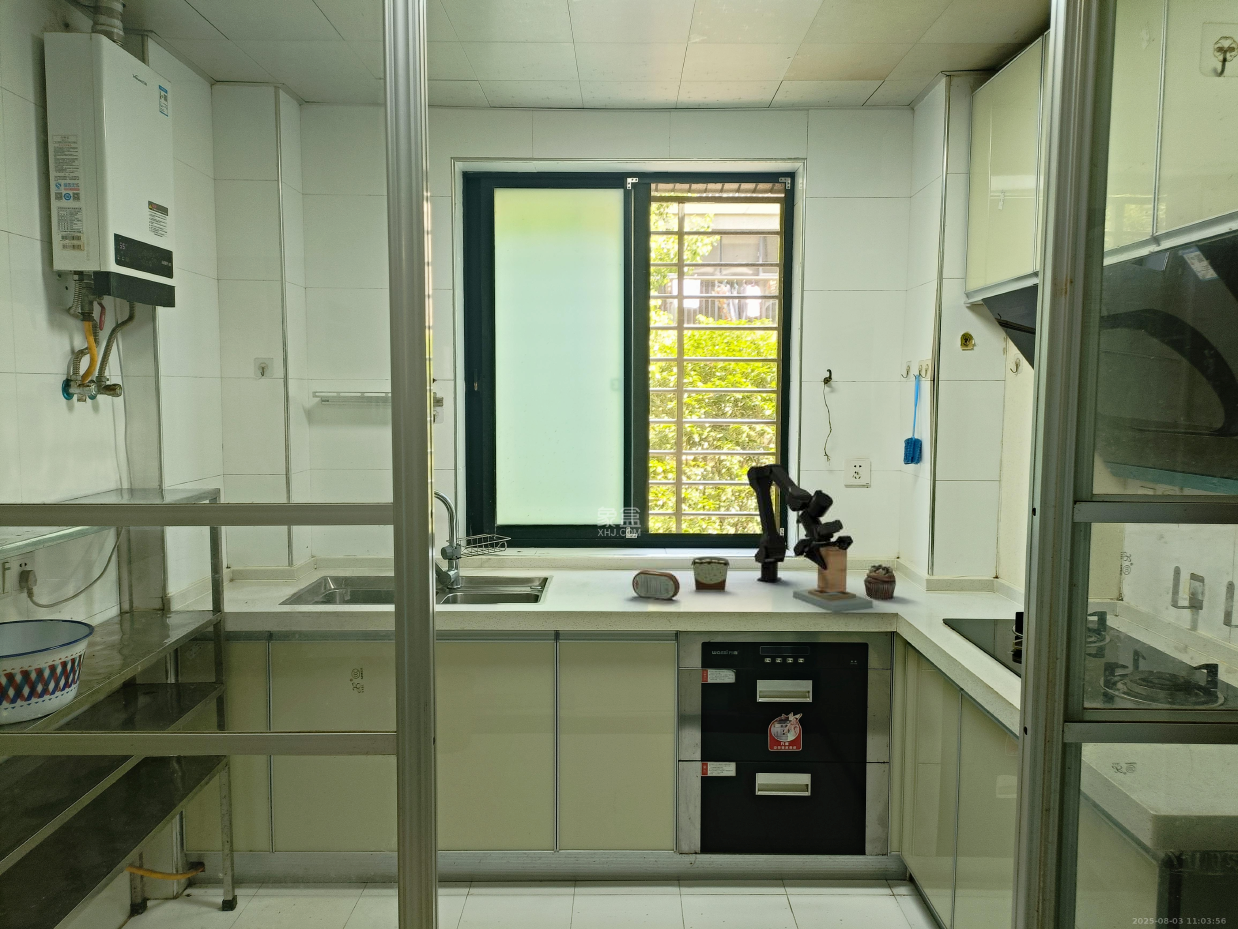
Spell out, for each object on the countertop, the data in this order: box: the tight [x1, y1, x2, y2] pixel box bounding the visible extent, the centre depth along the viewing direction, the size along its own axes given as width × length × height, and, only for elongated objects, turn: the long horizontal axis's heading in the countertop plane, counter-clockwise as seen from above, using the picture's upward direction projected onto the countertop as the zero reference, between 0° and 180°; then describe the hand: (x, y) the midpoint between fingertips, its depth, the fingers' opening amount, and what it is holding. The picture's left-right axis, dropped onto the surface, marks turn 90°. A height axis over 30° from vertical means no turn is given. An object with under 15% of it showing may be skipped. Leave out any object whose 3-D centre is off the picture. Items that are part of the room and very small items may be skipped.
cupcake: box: [863, 563, 897, 601], centre depth 257 cm, size 10×10×10 cm
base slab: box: [792, 587, 874, 613], centre depth 250 cm, size 20×14×3 cm
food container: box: [690, 556, 731, 592], centre depth 268 cm, size 12×6×10 cm, turn 84°
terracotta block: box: [816, 546, 848, 592], centre depth 249 cm, size 6×6×13 cm
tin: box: [631, 569, 681, 601], centre depth 254 cm, size 15×3×8 cm, turn 65°
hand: (835, 568), depth 248 cm, fingers closed on terracotta block, 6 cm apart
